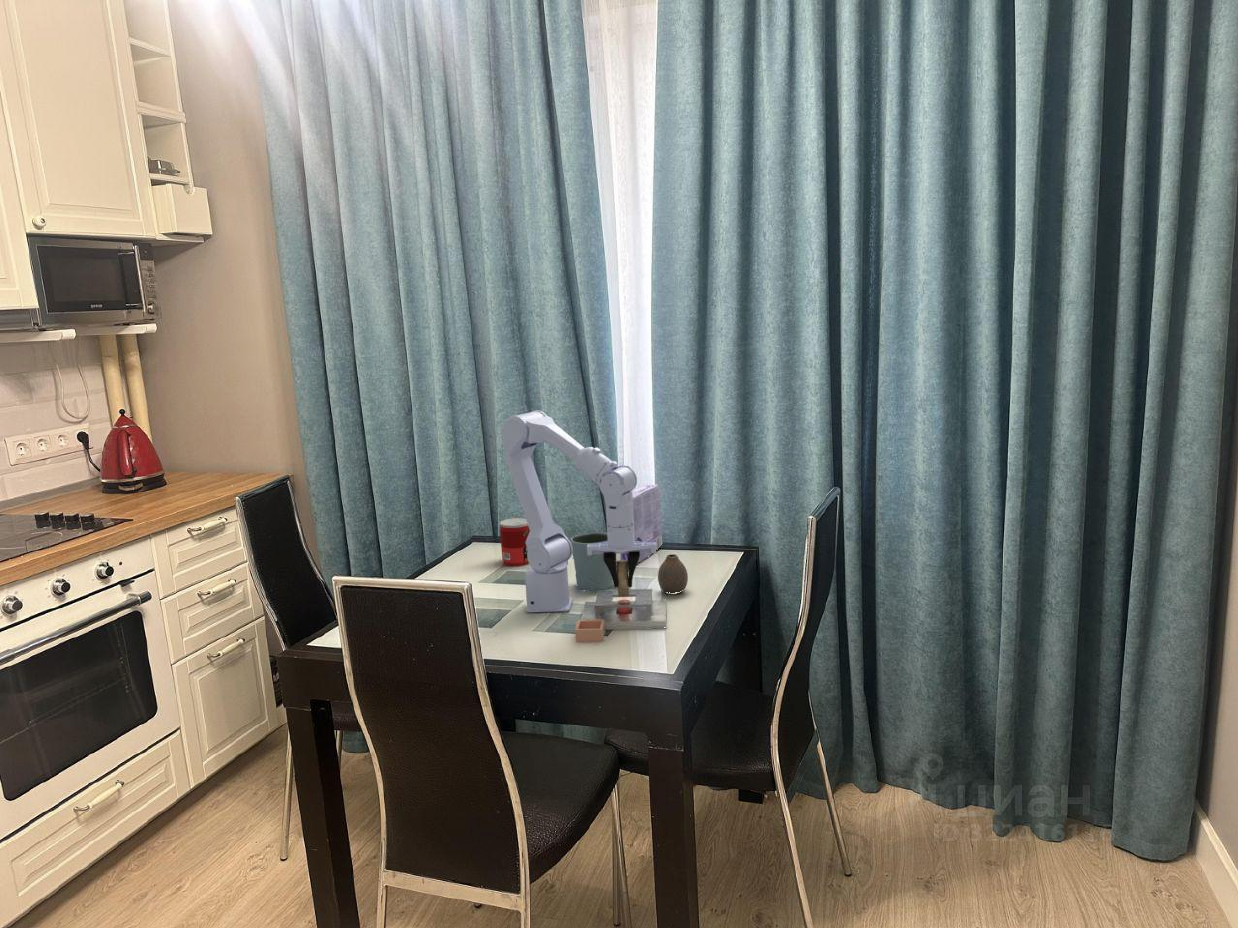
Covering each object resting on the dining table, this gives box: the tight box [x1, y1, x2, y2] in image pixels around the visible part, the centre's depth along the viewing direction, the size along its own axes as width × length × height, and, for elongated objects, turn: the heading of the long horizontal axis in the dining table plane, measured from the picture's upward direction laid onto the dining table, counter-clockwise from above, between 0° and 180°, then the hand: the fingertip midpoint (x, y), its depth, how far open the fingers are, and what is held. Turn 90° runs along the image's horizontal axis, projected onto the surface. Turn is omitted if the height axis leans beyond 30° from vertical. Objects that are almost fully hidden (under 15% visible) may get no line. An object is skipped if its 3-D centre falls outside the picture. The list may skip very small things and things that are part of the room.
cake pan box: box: [619, 484, 664, 565], centre depth 240 cm, size 19×5×18 cm, turn 154°
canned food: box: [499, 517, 530, 567], centre depth 240 cm, size 8×8×11 cm
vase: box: [657, 553, 689, 593], centre depth 211 cm, size 7×7×9 cm
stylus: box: [616, 559, 630, 598], centre depth 195 cm, size 2×2×8 cm
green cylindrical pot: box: [569, 531, 614, 592], centre depth 218 cm, size 10×10×12 cm
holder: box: [574, 619, 606, 643], centre depth 187 cm, size 6×6×2 cm
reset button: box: [617, 599, 631, 614], centre depth 196 cm, size 3×3×2 cm
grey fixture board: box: [580, 588, 668, 631], centre depth 196 cm, size 18×13×4 cm
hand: (623, 585), depth 195 cm, fingers closed on stylus, 2 cm apart
